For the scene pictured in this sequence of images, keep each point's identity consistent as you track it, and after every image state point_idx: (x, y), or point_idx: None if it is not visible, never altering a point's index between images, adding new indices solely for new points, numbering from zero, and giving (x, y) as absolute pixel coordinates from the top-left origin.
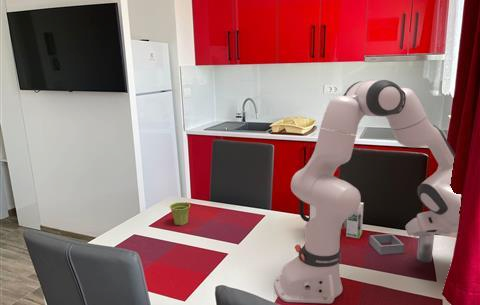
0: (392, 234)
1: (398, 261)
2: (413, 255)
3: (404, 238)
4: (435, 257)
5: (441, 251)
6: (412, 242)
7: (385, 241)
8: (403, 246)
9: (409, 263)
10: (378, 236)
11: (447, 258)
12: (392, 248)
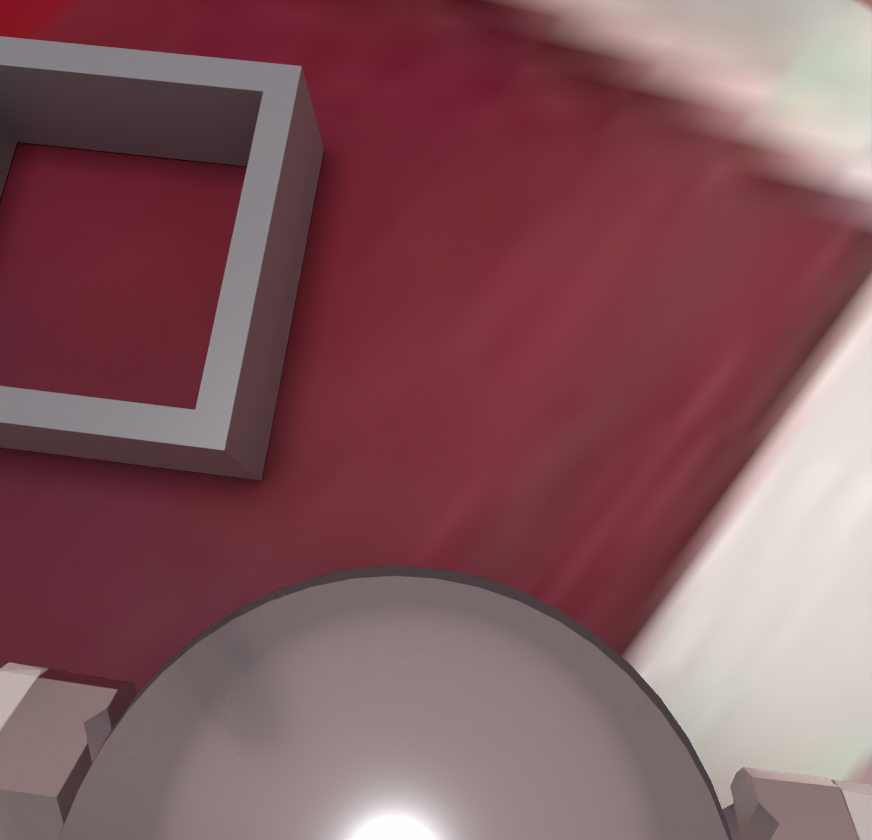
0: (290, 84)
1: None
2: None
3: (565, 113)
4: None
5: (863, 592)
6: (602, 239)
7: (203, 148)
8: (217, 453)
9: None
10: (48, 78)
11: None
12: (36, 434)
